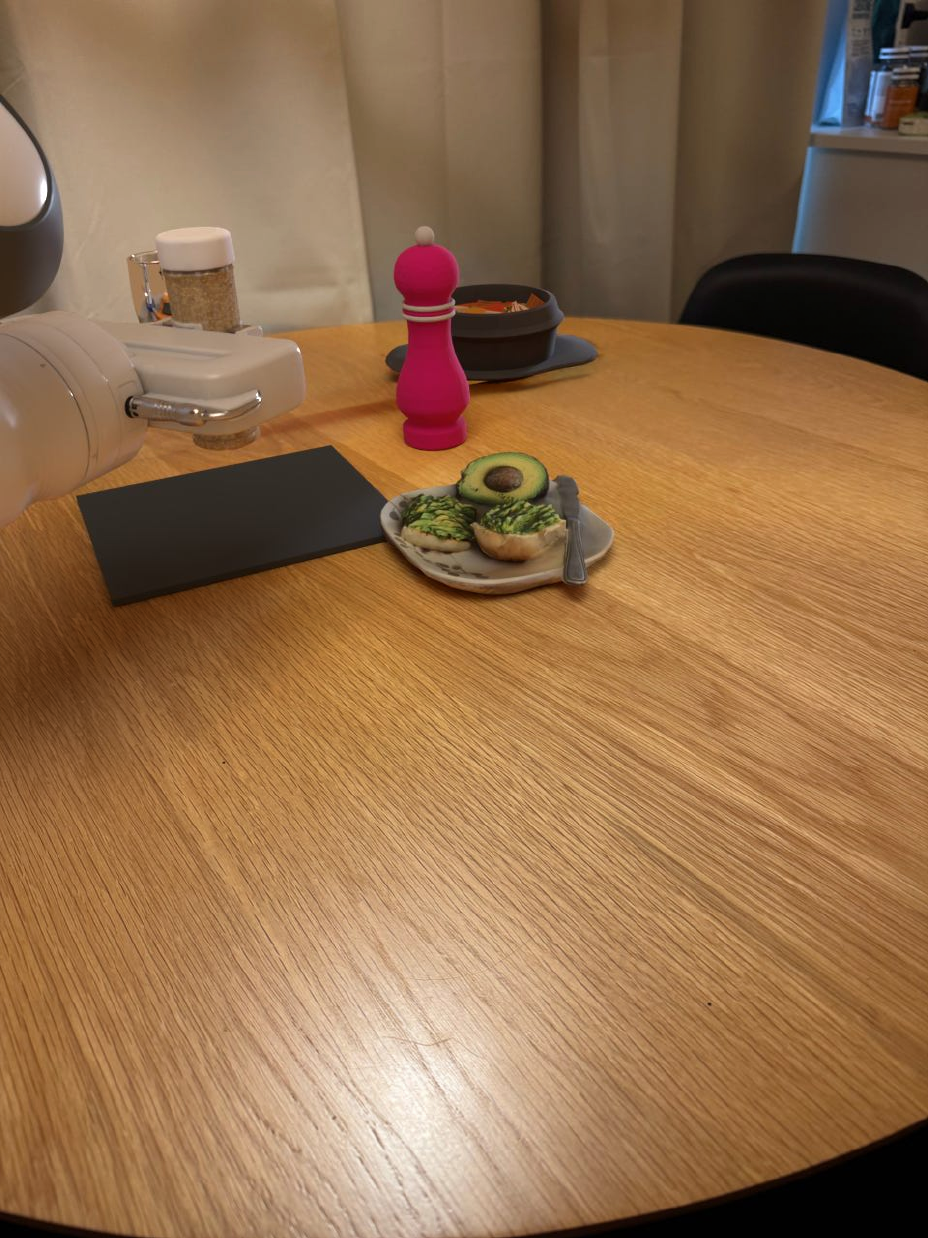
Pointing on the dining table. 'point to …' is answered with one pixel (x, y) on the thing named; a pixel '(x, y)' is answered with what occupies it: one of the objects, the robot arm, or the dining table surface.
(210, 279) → the spice jar
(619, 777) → the dining table surface
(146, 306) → the beer glass
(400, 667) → the dining table surface
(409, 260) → the pepper mill
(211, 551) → the slate mat
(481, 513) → the avocado toast plate
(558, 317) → the casserole
